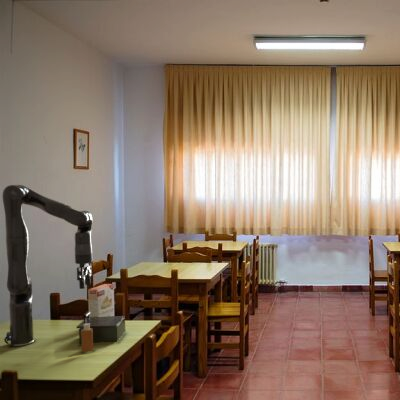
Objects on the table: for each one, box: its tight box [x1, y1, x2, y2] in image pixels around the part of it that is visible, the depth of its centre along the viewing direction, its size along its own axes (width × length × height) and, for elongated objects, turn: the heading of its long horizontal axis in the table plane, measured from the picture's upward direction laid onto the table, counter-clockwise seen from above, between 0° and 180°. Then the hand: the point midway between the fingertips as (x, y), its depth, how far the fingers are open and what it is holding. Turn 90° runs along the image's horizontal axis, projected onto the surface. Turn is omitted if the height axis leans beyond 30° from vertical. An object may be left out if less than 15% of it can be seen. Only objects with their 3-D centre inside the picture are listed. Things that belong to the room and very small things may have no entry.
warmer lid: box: [76, 310, 126, 329], centre depth 239 cm, size 18×16×5 cm
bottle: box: [81, 323, 94, 353], centre depth 223 cm, size 5×5×12 cm
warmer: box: [78, 318, 126, 345], centre depth 240 cm, size 17×16×8 cm
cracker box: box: [87, 283, 115, 317], centre depth 262 cm, size 14×6×21 cm, turn 168°
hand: (85, 286), depth 238 cm, fingers open, 8 cm apart
